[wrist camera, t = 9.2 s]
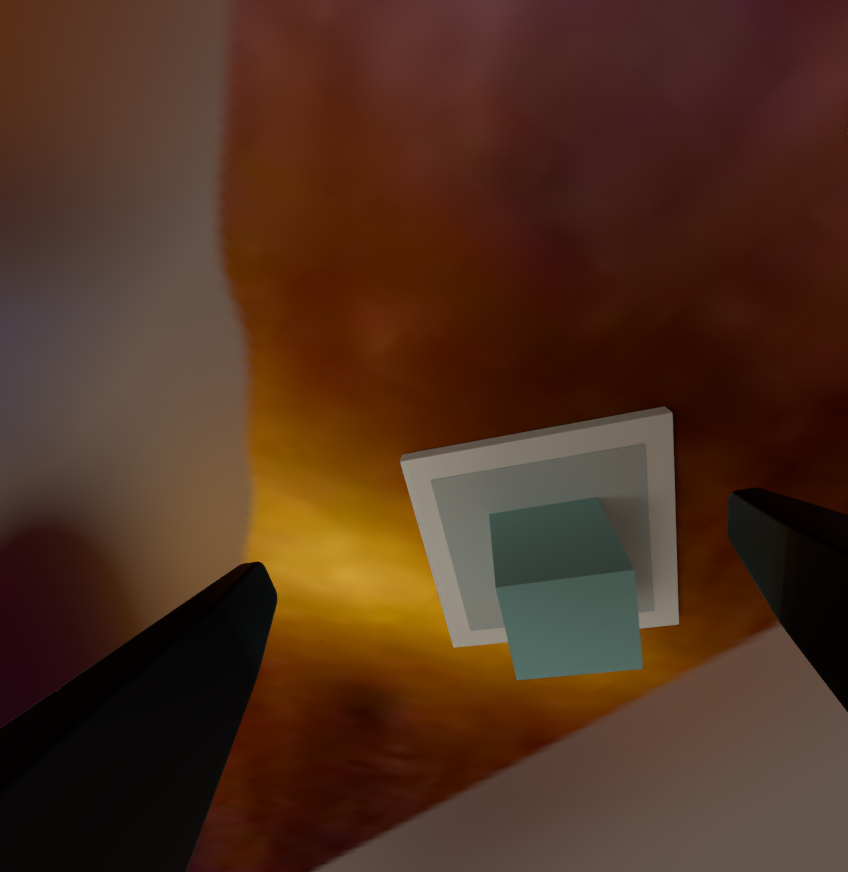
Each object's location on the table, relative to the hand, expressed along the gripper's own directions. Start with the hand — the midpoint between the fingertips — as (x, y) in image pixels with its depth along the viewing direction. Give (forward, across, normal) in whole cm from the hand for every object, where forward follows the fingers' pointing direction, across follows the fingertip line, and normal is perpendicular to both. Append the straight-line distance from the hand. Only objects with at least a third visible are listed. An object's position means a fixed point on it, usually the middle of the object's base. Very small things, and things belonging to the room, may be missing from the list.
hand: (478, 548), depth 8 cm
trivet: (+12, -2, +9) cm, 15 cm away
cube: (+11, -2, +9) cm, 14 cm away
